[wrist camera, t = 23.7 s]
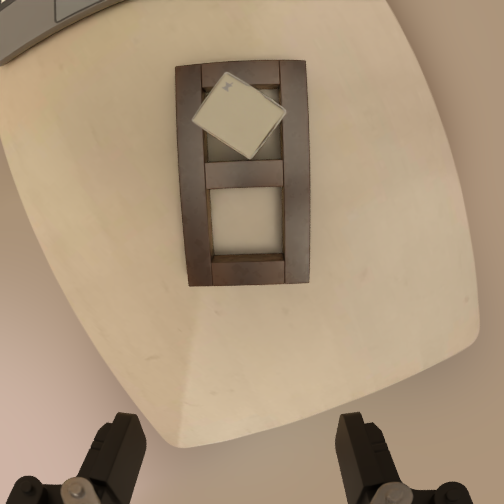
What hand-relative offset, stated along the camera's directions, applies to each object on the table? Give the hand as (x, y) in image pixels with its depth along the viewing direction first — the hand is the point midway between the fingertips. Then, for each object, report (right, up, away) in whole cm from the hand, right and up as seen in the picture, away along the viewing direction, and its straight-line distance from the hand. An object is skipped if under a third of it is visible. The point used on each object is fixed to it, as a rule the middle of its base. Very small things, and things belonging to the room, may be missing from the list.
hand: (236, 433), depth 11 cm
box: (0, +19, +19) cm, 27 cm away
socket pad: (0, +15, +21) cm, 25 cm away
